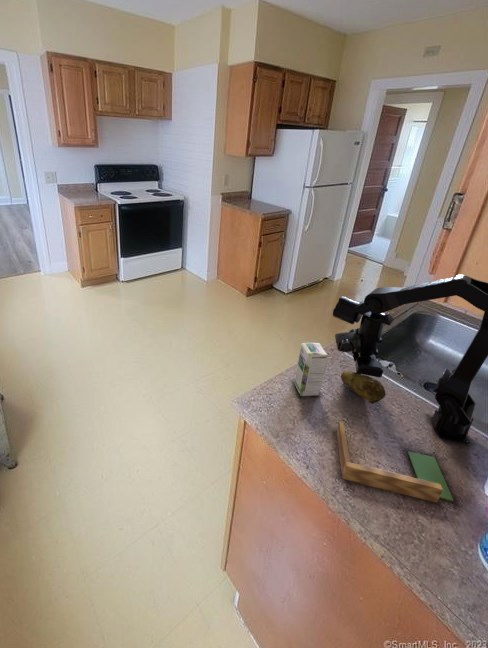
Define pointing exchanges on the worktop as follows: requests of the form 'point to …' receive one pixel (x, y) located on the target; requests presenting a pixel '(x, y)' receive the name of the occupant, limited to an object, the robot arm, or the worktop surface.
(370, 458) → the worktop surface
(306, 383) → the syrup box
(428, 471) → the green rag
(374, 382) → the olive green tapered piece
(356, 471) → the corner guard
